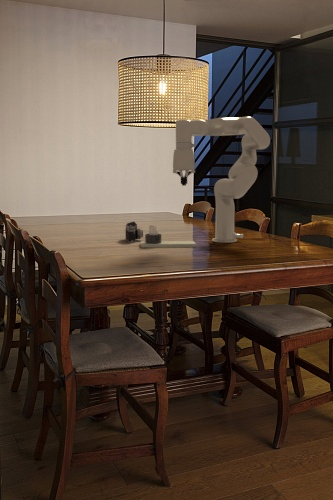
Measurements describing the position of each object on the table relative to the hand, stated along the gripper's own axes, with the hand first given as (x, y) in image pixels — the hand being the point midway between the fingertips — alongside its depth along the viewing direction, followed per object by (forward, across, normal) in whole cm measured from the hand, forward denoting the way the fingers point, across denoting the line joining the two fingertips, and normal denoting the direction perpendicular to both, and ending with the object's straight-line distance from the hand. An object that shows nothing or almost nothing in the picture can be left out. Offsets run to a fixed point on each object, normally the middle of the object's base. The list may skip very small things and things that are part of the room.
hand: (184, 185), depth 273 cm
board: (+28, +8, +3) cm, 30 cm away
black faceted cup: (+27, +15, +3) cm, 31 cm away
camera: (+29, +24, -15) cm, 40 cm away
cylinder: (+26, +15, +3) cm, 30 cm away
